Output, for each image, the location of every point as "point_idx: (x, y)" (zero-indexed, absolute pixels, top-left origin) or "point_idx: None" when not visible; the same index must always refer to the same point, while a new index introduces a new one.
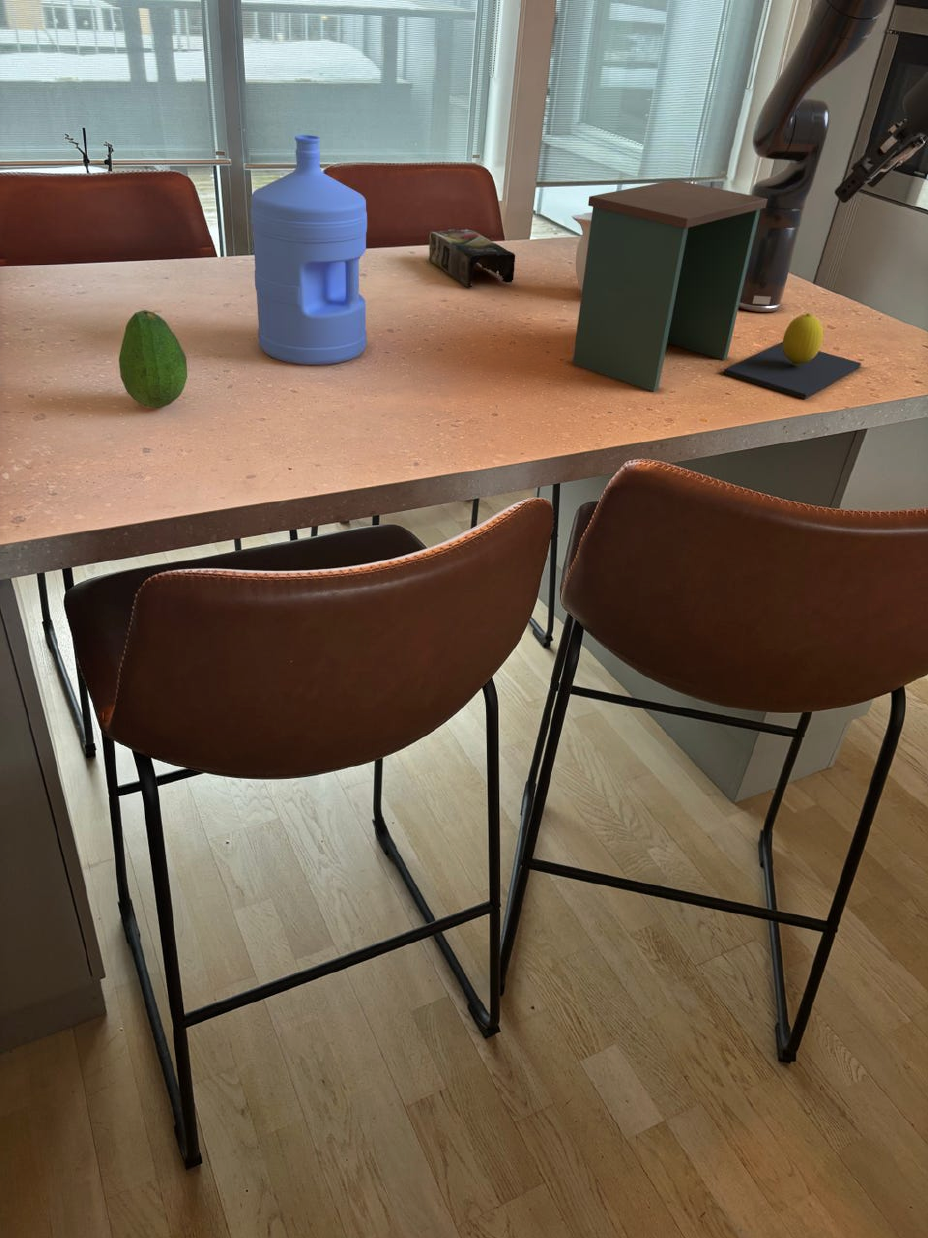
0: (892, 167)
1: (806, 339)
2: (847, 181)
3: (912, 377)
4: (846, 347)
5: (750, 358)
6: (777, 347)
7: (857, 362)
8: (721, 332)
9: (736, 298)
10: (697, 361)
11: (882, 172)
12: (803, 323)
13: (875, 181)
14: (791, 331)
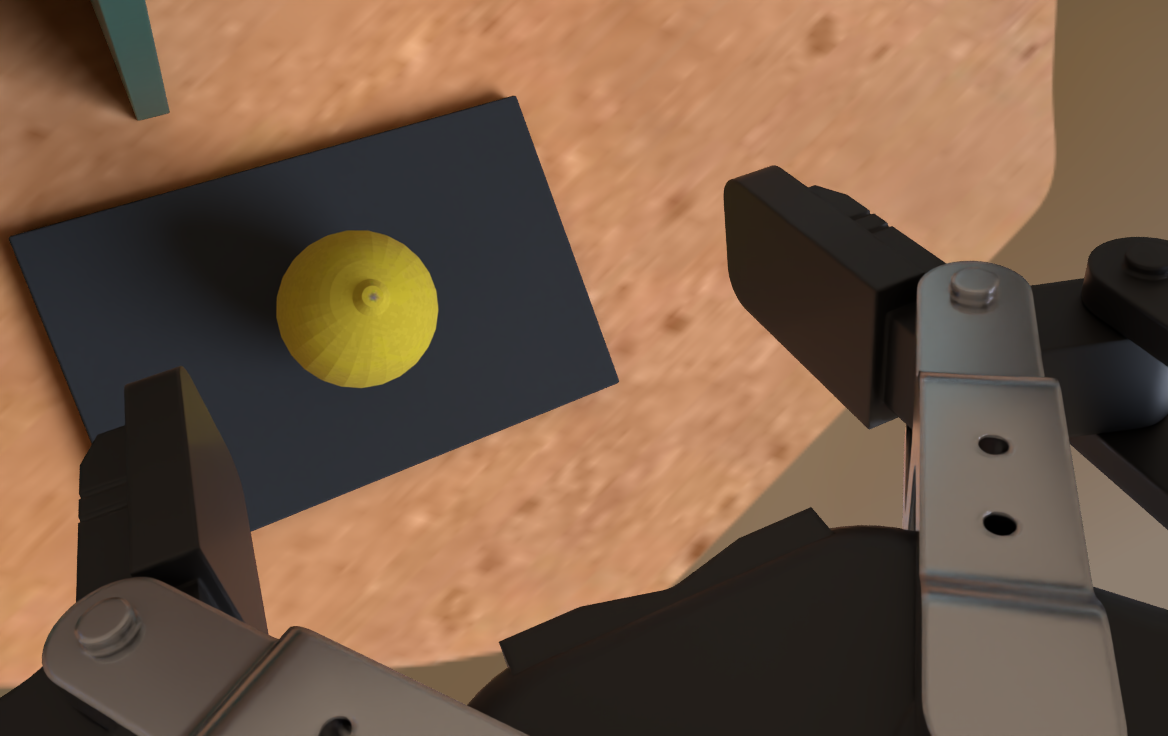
0: (867, 422)
1: (312, 367)
2: (81, 551)
3: (718, 512)
4: (723, 209)
5: (224, 187)
6: (433, 138)
7: (610, 373)
8: (112, 51)
9: (105, 23)
10: (8, 85)
11: (810, 342)
12: (316, 323)
13: (756, 306)
14: (284, 297)
